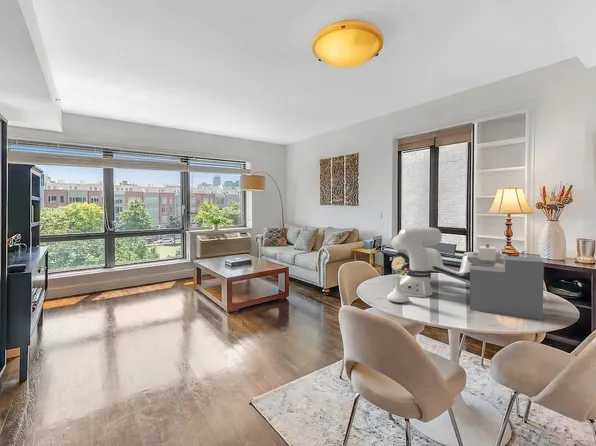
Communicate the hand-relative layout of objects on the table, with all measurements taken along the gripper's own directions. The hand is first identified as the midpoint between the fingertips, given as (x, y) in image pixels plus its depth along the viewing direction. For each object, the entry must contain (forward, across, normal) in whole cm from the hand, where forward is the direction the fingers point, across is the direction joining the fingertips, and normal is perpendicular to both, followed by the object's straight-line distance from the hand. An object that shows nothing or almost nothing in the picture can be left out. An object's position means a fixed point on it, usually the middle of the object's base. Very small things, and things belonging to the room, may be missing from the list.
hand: (487, 252), depth 165 cm
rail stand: (+7, -7, -33) cm, 34 cm away
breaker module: (+4, 0, -4) cm, 6 cm away
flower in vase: (+16, +40, -38) cm, 58 cm away
